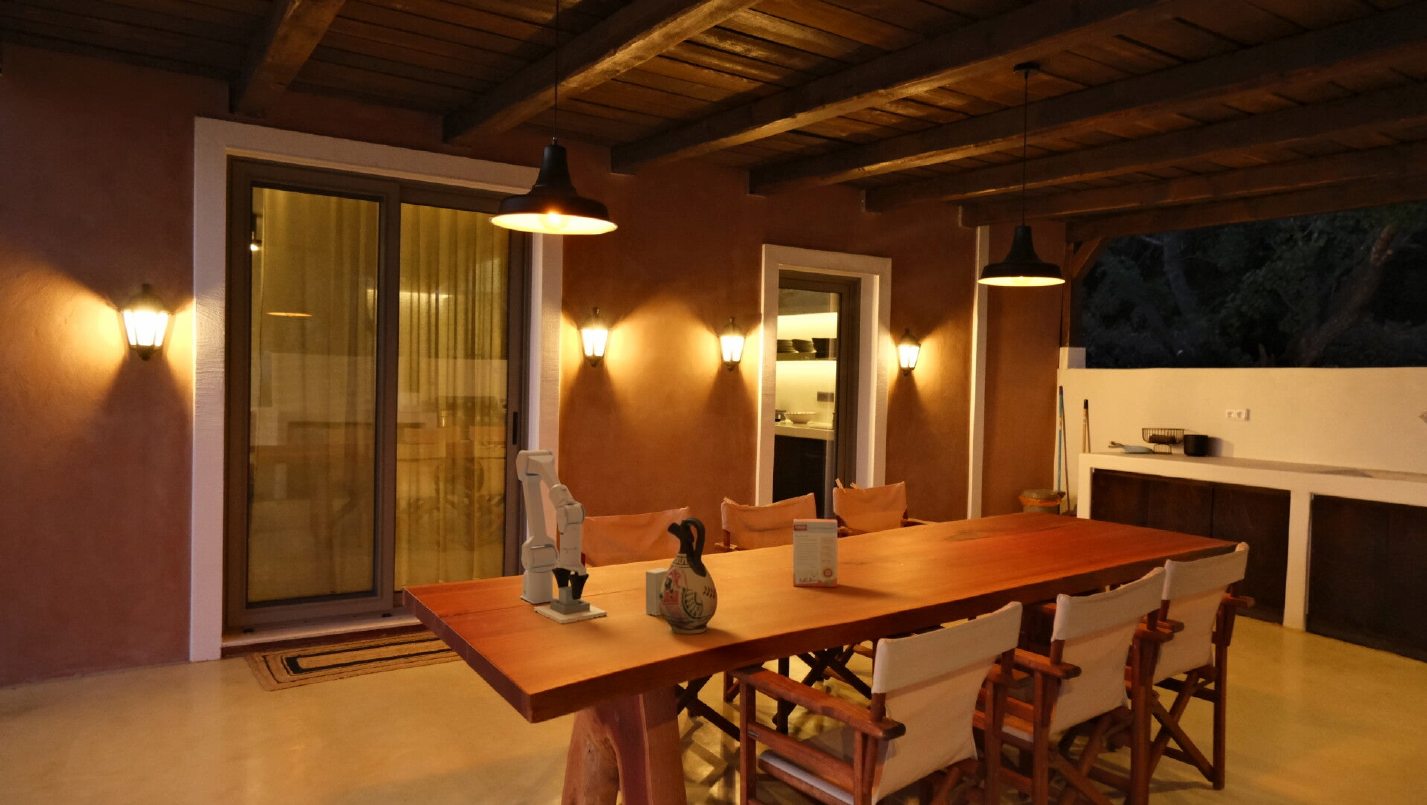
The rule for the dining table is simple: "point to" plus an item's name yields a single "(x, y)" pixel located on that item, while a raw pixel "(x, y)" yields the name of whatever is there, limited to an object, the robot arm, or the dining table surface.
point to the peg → (566, 597)
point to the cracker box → (815, 552)
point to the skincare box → (654, 590)
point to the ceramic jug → (688, 583)
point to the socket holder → (569, 611)
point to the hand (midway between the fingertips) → (570, 596)
